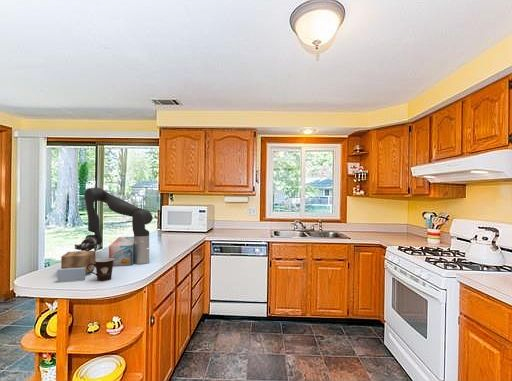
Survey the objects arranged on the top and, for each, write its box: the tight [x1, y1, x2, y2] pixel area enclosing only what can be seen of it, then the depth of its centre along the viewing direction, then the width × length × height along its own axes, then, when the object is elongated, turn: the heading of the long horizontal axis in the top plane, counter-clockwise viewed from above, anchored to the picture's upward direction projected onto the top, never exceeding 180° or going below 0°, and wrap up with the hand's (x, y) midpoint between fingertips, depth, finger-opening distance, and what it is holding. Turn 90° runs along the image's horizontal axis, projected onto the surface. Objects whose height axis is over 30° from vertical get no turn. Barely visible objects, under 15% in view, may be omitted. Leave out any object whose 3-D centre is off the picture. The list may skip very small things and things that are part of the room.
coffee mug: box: [87, 257, 114, 282], centre depth 162 cm, size 12×9×10 cm
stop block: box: [56, 267, 86, 283], centre depth 160 cm, size 12×2×6 cm, turn 108°
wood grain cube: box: [60, 250, 96, 273], centre depth 175 cm, size 14×14×9 cm
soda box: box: [108, 236, 134, 267], centre depth 210 cm, size 41×14×13 cm, turn 16°
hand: (82, 249), depth 185 cm, fingers closed
